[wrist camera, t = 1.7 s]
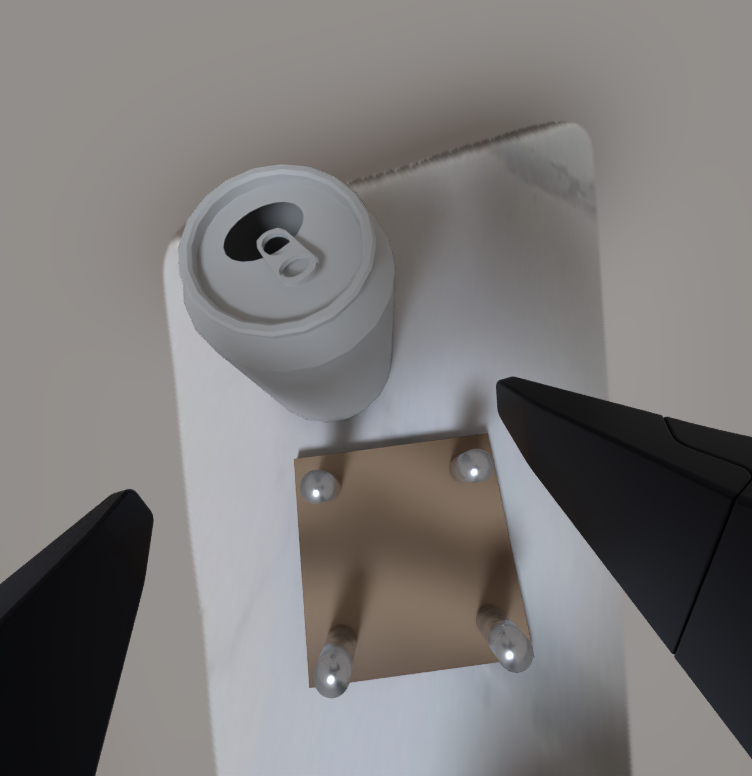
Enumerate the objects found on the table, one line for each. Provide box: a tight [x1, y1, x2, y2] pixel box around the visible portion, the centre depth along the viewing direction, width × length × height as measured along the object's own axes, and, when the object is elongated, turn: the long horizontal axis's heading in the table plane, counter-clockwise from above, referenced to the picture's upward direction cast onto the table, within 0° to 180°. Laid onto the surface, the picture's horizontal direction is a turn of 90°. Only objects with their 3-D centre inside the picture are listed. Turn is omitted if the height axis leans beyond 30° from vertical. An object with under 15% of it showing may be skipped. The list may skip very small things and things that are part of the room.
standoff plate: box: [294, 434, 534, 698], centre depth 18 cm, size 11×11×4 cm
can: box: [178, 164, 395, 422], centre depth 17 cm, size 8×8×12 cm
